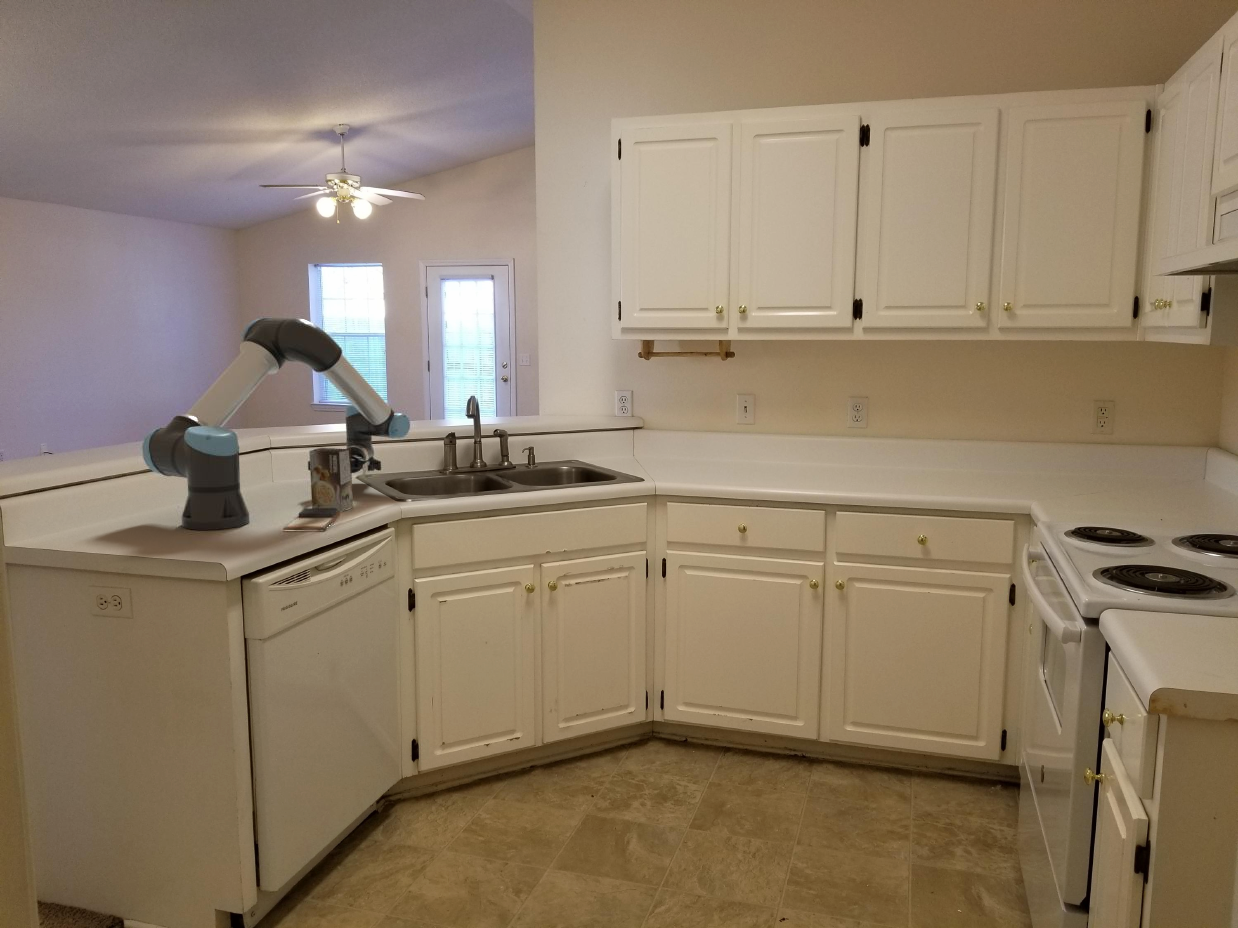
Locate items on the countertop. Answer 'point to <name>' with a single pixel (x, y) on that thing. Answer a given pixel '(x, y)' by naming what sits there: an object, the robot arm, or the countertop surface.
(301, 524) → the stamp station
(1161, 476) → the countertop surface
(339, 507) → the grey cardboard box
